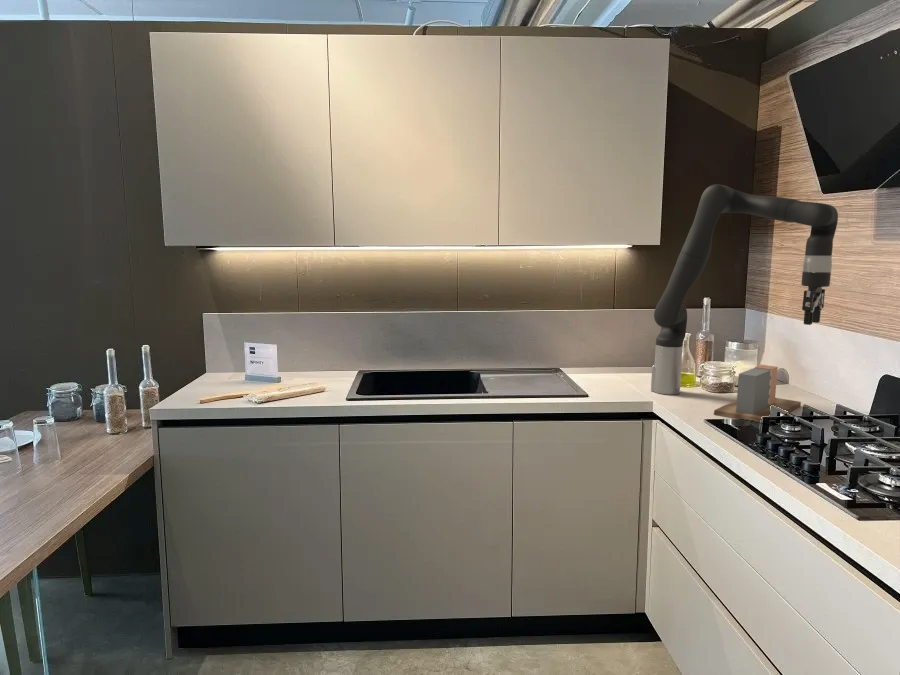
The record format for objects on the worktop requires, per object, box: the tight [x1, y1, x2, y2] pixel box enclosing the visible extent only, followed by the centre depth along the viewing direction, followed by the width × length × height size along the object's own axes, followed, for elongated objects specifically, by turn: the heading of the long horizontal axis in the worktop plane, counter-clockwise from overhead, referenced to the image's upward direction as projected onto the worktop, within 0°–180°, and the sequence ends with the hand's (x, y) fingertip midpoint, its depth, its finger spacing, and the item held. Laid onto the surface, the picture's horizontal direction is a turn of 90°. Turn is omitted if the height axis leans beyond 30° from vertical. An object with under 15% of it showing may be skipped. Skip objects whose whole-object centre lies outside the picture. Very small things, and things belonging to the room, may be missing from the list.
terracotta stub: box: [754, 364, 779, 406], centre depth 202 cm, size 5×6×12 cm
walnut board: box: [713, 397, 802, 422], centre depth 200 cm, size 16×32×2 cm, turn 136°
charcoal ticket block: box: [736, 367, 772, 415], centre depth 194 cm, size 5×14×12 cm, turn 136°
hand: (811, 323), depth 190 cm, fingers open, 8 cm apart
